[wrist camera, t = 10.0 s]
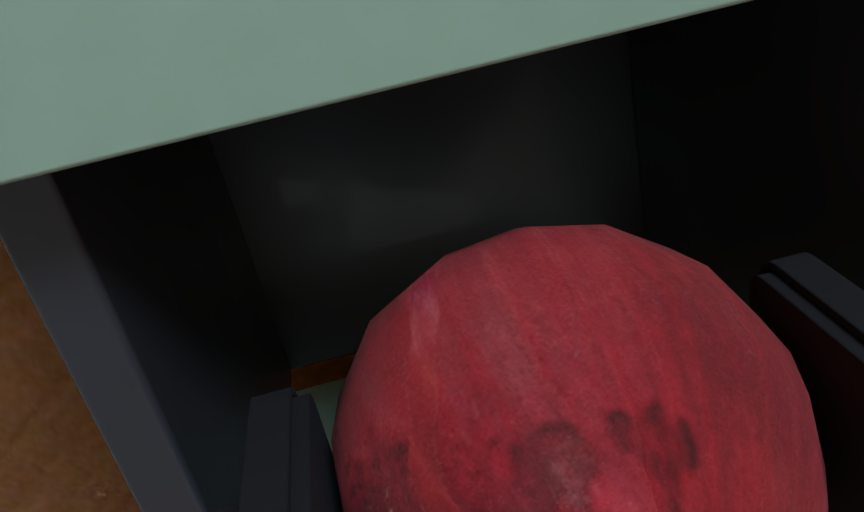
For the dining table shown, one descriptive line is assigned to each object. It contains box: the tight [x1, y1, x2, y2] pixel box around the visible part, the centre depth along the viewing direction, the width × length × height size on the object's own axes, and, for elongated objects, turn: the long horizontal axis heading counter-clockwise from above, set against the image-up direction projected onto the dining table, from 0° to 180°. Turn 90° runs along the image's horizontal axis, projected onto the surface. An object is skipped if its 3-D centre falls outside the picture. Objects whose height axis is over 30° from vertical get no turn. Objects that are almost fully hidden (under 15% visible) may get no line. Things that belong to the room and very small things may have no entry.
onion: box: [331, 224, 828, 512], centre depth 9 cm, size 6×6×8 cm
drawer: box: [0, 0, 864, 512], centre depth 15 cm, size 19×12×10 cm, turn 12°
